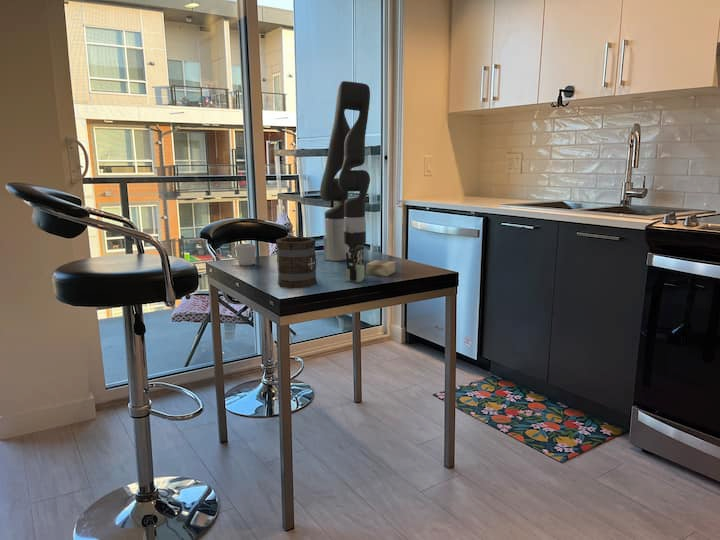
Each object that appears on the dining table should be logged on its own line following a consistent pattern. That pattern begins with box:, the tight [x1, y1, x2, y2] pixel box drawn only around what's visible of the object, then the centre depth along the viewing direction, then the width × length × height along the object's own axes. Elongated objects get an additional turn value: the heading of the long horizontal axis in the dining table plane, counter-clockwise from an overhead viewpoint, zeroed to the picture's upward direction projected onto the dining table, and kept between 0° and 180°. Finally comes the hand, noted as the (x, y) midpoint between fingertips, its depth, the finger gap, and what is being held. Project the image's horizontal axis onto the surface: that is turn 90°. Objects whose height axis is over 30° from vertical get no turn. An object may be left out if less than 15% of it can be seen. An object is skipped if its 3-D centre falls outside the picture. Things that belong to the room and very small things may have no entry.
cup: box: [230, 243, 257, 267], centre depth 207 cm, size 11×8×8 cm
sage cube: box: [345, 263, 365, 283], centre depth 180 cm, size 5×5×5 cm
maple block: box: [365, 259, 396, 277], centre depth 190 cm, size 8×8×4 cm
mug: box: [275, 236, 318, 289], centre depth 177 cm, size 20×14×15 cm
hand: (355, 278), depth 180 cm, fingers closed on sage cube, 5 cm apart
